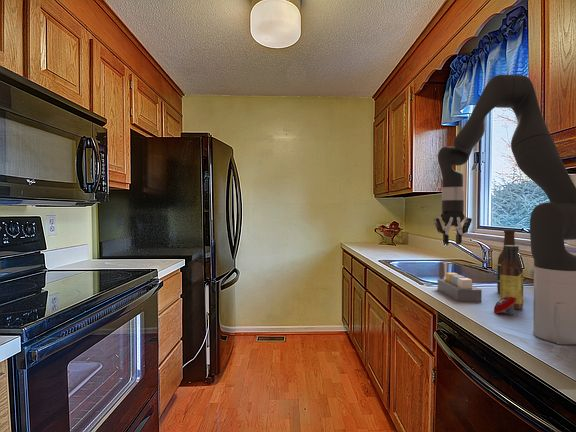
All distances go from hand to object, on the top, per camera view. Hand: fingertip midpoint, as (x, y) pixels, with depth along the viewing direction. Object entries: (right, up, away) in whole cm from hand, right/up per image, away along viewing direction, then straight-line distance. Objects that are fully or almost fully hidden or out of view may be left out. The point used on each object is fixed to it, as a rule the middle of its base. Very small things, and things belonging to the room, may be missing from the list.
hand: (452, 244), depth 128 cm
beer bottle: (+20, -18, -2) cm, 27 cm away
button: (+3, -19, -27) cm, 33 cm away
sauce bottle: (+9, -19, -20) cm, 29 cm away
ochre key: (0, -15, 0) cm, 15 cm away
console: (0, -18, -5) cm, 19 cm away
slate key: (0, -15, -5) cm, 16 cm away
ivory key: (0, -15, -10) cm, 18 cm away
